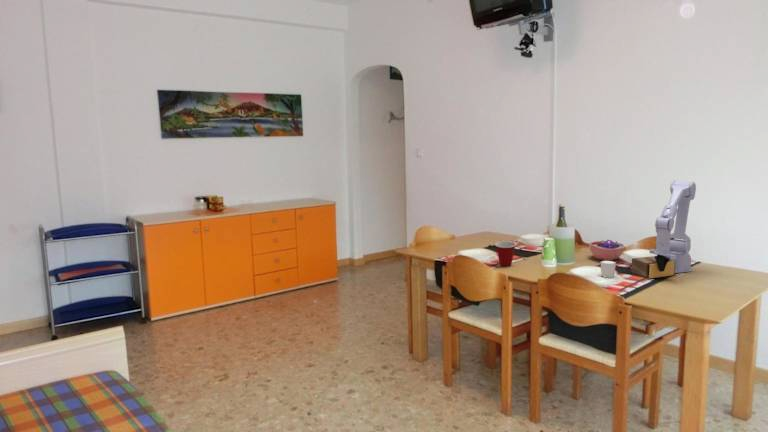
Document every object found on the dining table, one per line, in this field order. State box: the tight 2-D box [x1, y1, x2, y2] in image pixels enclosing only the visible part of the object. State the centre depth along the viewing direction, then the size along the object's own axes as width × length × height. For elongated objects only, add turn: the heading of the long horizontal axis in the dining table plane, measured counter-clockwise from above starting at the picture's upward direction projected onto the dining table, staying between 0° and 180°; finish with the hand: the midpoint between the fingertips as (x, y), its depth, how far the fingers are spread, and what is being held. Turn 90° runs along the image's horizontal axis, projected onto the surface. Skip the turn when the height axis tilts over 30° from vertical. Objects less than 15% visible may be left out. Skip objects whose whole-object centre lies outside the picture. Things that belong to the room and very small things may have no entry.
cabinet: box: [630, 255, 671, 278], centre depth 261 cm, size 14×10×7 cm
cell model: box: [588, 239, 626, 261], centre depth 290 cm, size 17×20×11 cm
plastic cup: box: [495, 240, 517, 268], centre depth 283 cm, size 11×11×12 cm
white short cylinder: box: [600, 260, 617, 278], centre depth 258 cm, size 7×7×7 cm
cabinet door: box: [648, 261, 676, 279], centre depth 254 cm, size 15×1×7 cm, turn 108°
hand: (661, 271), depth 252 cm, fingers closed
